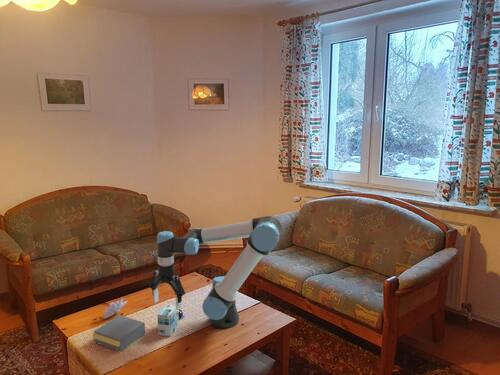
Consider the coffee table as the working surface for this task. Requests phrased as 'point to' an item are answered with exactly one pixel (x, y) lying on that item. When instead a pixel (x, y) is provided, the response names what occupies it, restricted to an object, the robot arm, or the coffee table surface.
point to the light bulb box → (168, 320)
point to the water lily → (114, 308)
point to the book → (119, 332)
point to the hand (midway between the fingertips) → (167, 305)
